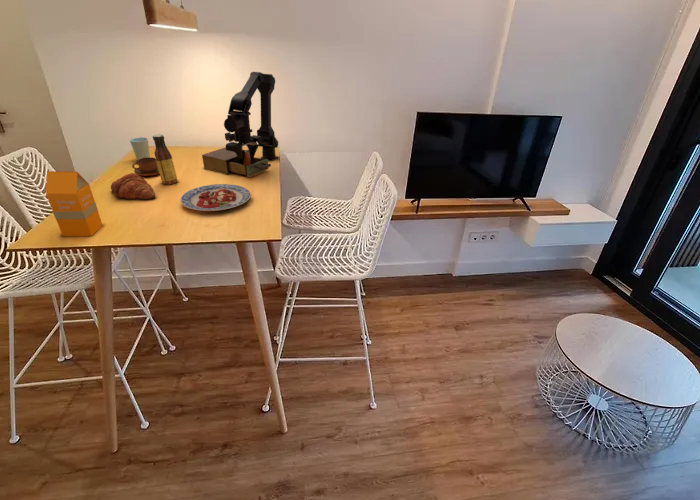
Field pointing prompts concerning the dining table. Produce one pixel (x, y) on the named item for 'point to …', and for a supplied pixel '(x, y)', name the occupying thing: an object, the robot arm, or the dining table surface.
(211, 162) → the cabinet
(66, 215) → the orange juice
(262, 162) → the drawer
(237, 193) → the ceramic plate
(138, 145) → the cup
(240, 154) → the robot arm
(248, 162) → the spice jar
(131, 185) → the pastry
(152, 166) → the cup and saucer
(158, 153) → the sauce bottle
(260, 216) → the dining table surface
